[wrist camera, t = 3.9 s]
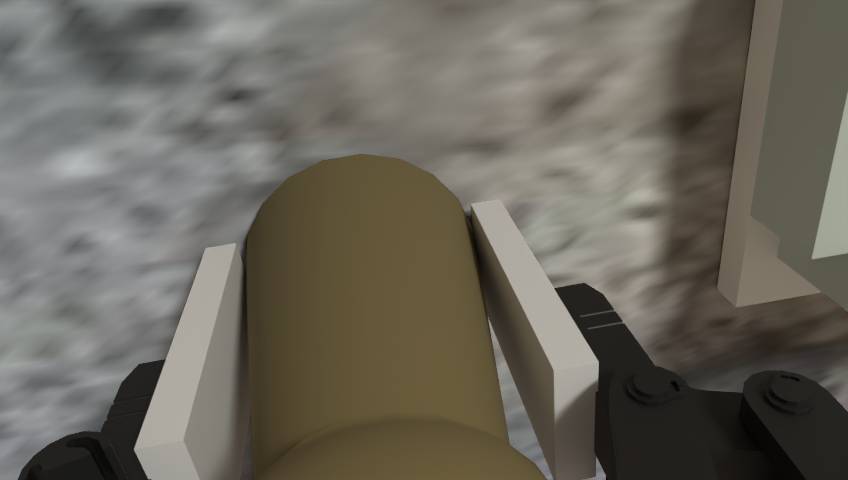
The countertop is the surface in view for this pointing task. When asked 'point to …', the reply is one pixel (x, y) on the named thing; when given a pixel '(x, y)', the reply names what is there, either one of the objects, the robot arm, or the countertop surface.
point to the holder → (791, 159)
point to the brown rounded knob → (371, 332)
